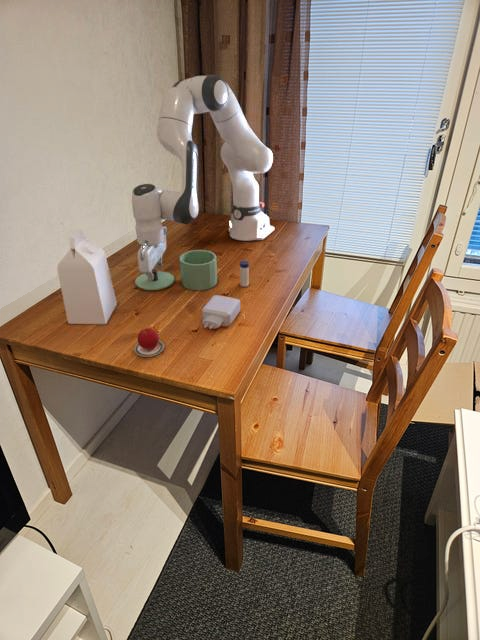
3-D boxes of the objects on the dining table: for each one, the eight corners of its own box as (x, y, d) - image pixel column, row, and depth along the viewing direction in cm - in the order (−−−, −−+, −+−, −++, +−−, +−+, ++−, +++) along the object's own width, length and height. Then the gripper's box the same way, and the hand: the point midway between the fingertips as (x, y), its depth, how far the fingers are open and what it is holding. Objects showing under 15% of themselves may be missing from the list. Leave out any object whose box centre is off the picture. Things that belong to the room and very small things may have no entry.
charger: (193, 332, 120) (213, 307, 132) (222, 338, 117) (240, 312, 129) (192, 318, 117) (212, 294, 129) (222, 324, 115) (240, 299, 127)
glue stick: (243, 281, 147) (243, 259, 142) (250, 284, 145) (250, 262, 140) (238, 285, 144) (238, 263, 140) (245, 287, 143) (245, 265, 138)
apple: (128, 354, 111) (125, 334, 108) (144, 338, 117) (141, 319, 114) (154, 360, 109) (151, 340, 105) (169, 344, 115) (167, 324, 111)
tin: (198, 270, 154) (196, 247, 149) (224, 280, 148) (223, 255, 142) (174, 283, 146) (171, 258, 140) (200, 293, 139) (199, 268, 134)
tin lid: (156, 270, 154) (154, 259, 151) (182, 281, 147) (181, 269, 145) (127, 284, 145) (125, 272, 142) (153, 295, 138) (152, 283, 135)
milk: (82, 303, 134) (63, 226, 120) (117, 303, 134) (102, 226, 120) (68, 323, 124) (46, 242, 110) (105, 324, 124) (88, 242, 109)
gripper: (149, 248, 128) (155, 287, 135) (167, 225, 145) (171, 261, 152) (130, 247, 128) (136, 286, 136) (150, 224, 145) (155, 260, 153)
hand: (155, 273), depth 144 cm, fingers open, 8 cm apart
